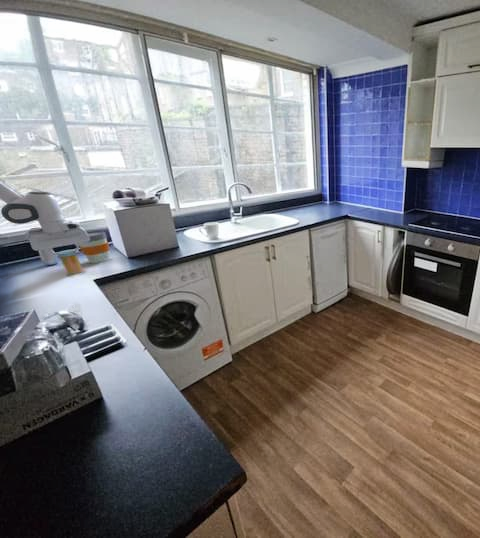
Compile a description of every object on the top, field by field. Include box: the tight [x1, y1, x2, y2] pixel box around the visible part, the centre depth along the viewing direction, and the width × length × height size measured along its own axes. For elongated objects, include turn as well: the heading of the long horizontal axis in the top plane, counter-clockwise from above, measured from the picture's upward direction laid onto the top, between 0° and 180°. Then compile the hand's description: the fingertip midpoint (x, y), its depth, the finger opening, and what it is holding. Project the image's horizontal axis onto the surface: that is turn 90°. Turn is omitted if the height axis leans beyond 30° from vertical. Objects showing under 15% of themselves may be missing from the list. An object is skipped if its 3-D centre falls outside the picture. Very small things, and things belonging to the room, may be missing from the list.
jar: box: [59, 253, 84, 276], centre depth 145 cm, size 6×6×10 cm
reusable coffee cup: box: [79, 230, 111, 264], centre depth 159 cm, size 12×13×15 cm
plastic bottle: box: [29, 226, 60, 266], centre depth 154 cm, size 6×7×20 cm
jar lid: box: [57, 249, 77, 258], centre depth 143 cm, size 6×6×2 cm
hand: (67, 254), depth 143 cm, fingers closed on jar lid, 6 cm apart
